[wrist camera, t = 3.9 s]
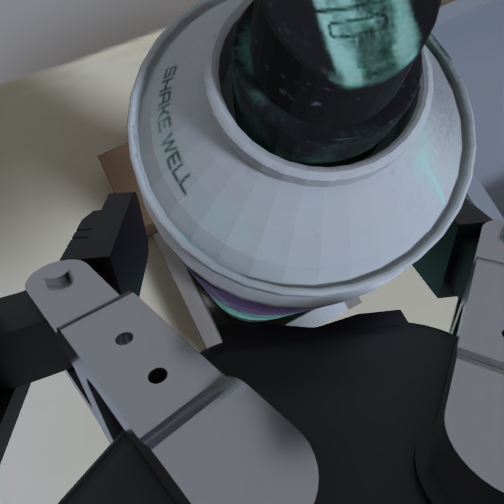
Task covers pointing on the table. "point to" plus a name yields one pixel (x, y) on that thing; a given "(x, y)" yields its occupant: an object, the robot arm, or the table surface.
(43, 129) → the table surface
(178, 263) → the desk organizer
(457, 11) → the tray
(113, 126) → the table surface
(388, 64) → the spray can
